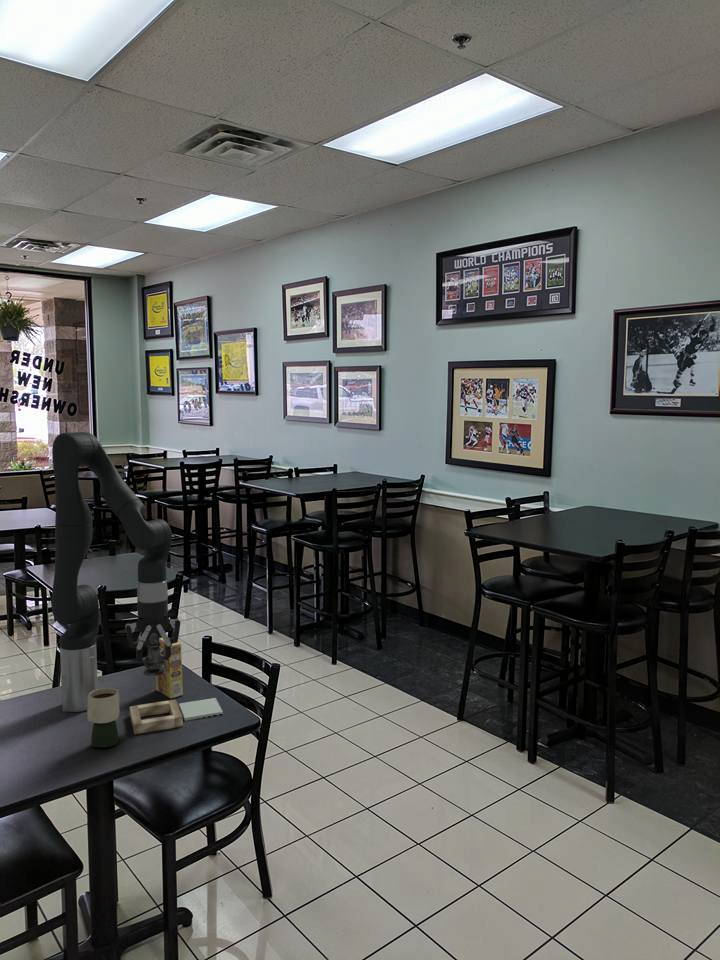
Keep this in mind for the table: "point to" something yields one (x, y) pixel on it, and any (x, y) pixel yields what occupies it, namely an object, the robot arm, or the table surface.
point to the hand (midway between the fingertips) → (153, 660)
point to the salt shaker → (153, 657)
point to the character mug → (103, 716)
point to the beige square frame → (155, 723)
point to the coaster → (200, 709)
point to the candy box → (171, 672)
